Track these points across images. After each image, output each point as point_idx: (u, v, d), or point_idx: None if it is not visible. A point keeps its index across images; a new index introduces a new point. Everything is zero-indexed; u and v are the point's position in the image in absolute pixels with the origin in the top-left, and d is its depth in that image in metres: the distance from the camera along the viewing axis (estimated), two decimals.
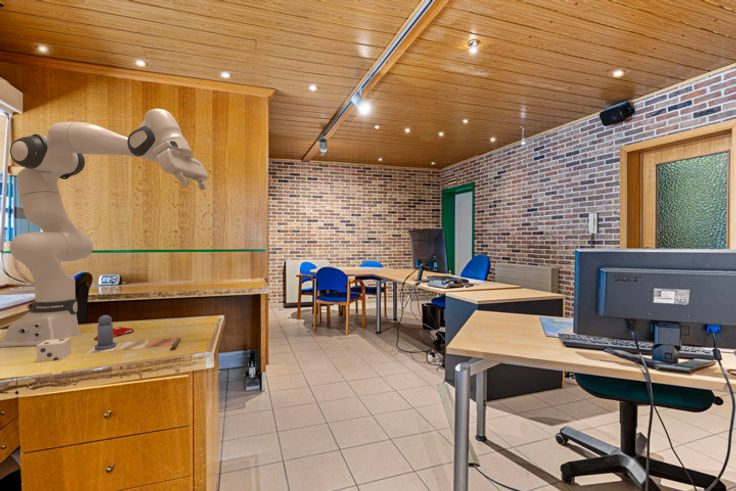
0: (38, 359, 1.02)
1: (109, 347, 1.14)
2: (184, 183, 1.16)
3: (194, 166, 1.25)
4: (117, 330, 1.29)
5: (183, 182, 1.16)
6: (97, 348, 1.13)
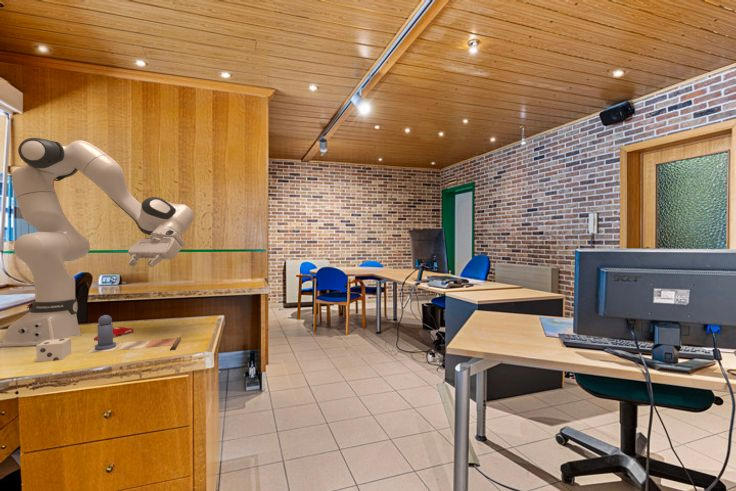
0: (38, 359, 1.02)
1: (109, 347, 1.14)
2: (152, 265, 1.25)
3: None
4: (117, 330, 1.29)
5: (153, 263, 1.26)
6: (97, 348, 1.13)
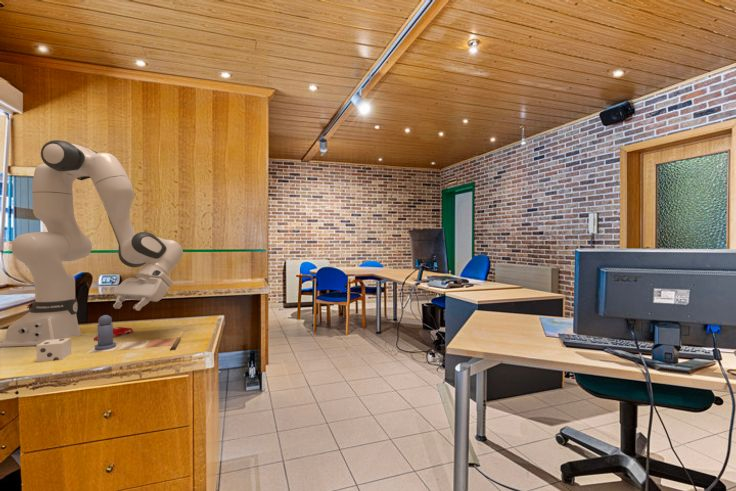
0: (38, 359, 1.02)
1: (109, 347, 1.14)
2: (138, 308, 1.20)
3: None
4: (117, 330, 1.29)
5: (138, 307, 1.21)
6: (97, 348, 1.13)
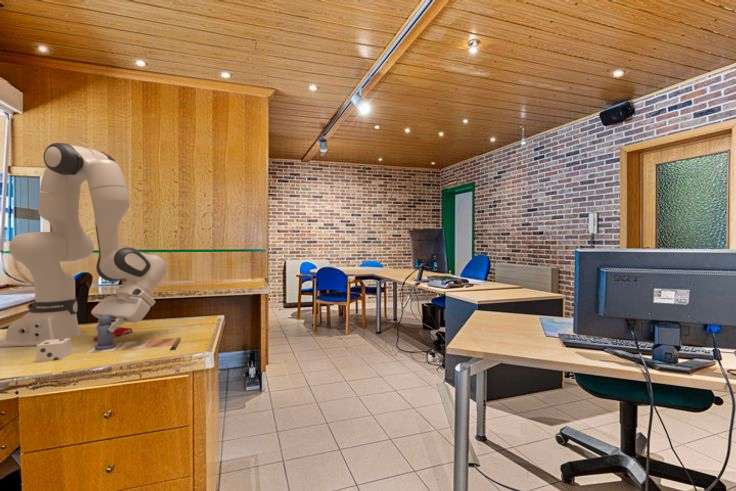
0: (38, 359, 1.02)
1: (109, 347, 1.14)
2: (111, 330, 1.14)
3: None
4: (116, 330, 1.29)
5: (112, 328, 1.14)
6: (97, 348, 1.13)
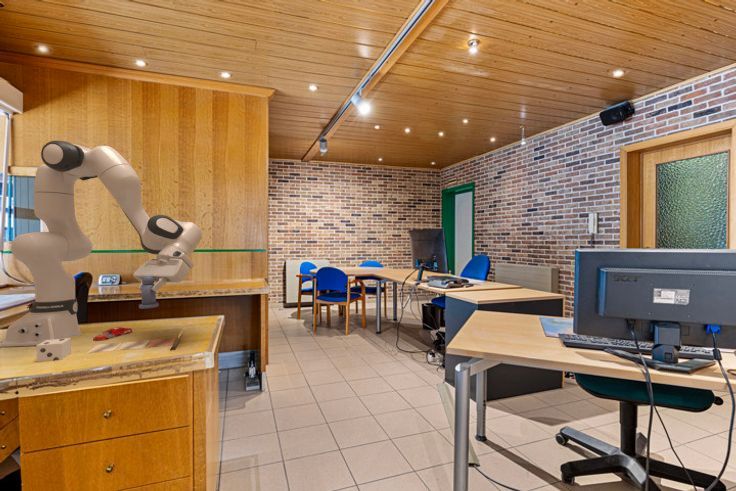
0: (38, 359, 1.02)
1: (153, 306, 1.18)
2: (155, 289, 1.18)
3: None
4: (116, 330, 1.29)
5: (156, 288, 1.18)
6: (142, 307, 1.17)
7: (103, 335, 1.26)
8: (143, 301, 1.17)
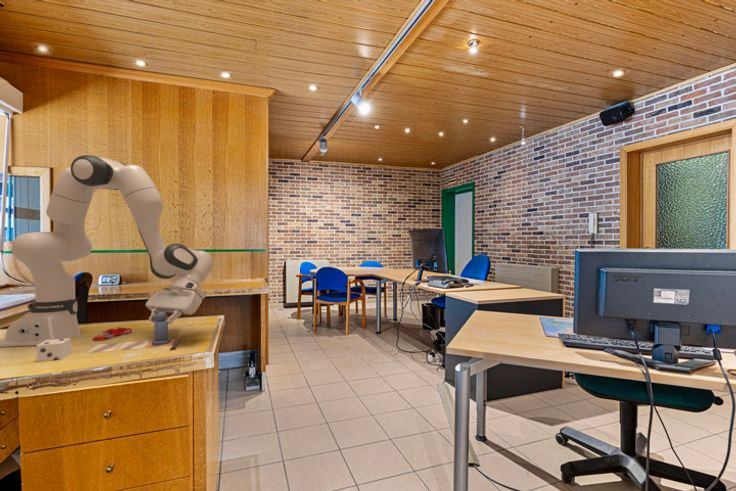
0: (38, 359, 1.02)
1: (165, 342, 1.20)
2: (170, 321, 1.19)
3: None
4: (116, 330, 1.29)
5: (171, 320, 1.20)
6: (154, 343, 1.18)
7: (103, 335, 1.25)
8: (156, 337, 1.19)
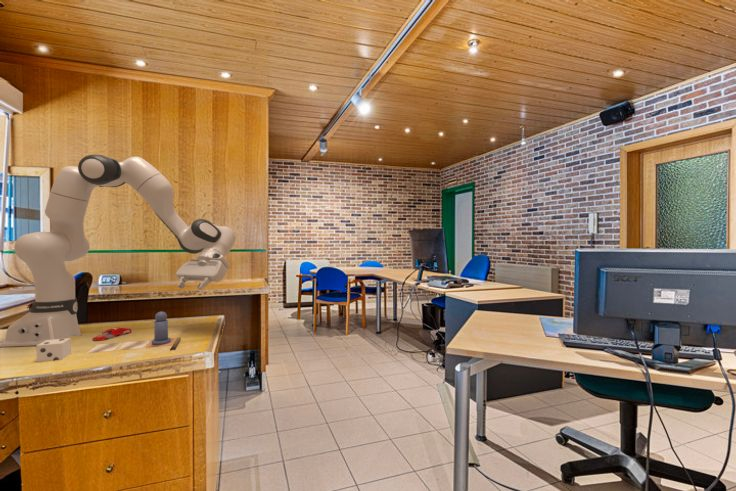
0: (38, 359, 1.02)
1: (165, 342, 1.20)
2: (202, 287, 1.31)
3: None
4: (115, 330, 1.29)
5: (202, 286, 1.31)
6: (154, 343, 1.18)
7: (102, 335, 1.25)
8: (156, 337, 1.19)
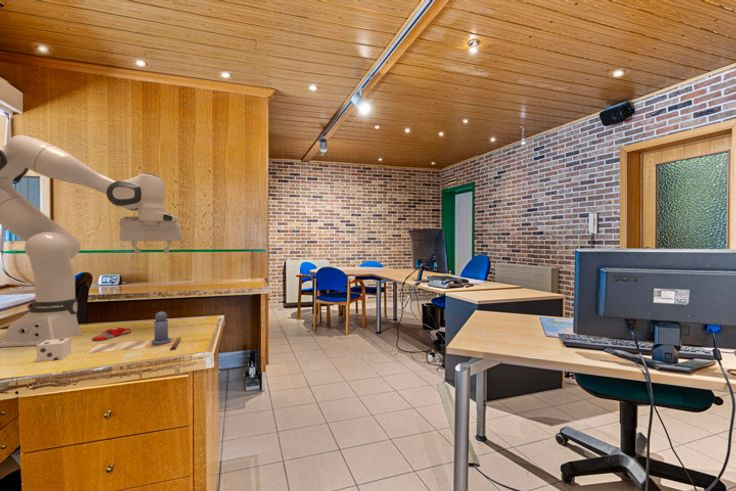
0: (38, 359, 1.02)
1: (165, 342, 1.20)
2: (168, 251, 1.37)
3: None
4: (115, 330, 1.29)
5: (168, 250, 1.37)
6: (154, 343, 1.18)
7: (102, 335, 1.25)
8: (156, 337, 1.19)
